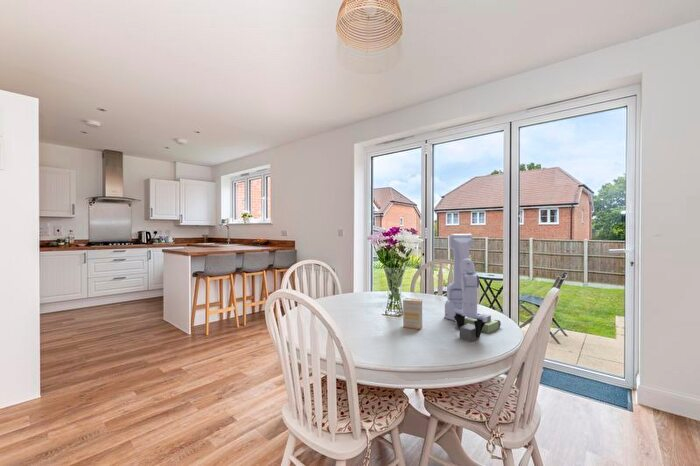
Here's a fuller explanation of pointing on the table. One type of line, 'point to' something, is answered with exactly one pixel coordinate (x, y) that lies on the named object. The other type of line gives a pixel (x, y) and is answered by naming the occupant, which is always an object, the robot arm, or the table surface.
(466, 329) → the grey block
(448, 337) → the table surface
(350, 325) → the table surface
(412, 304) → the supplement box
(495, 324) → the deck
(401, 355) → the table surface
